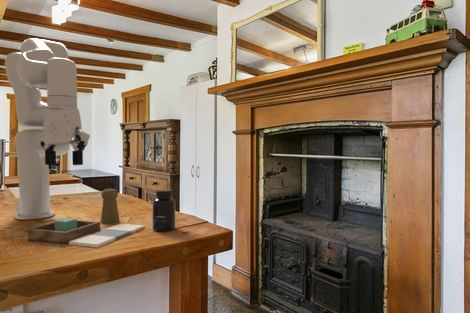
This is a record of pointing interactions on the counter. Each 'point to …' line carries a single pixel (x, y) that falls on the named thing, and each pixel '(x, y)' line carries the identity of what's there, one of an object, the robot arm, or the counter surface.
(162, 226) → the supplement bottle
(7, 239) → the counter surface
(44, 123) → the robot arm
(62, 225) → the teal cube
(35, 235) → the dice tray
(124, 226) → the board
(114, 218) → the cork
